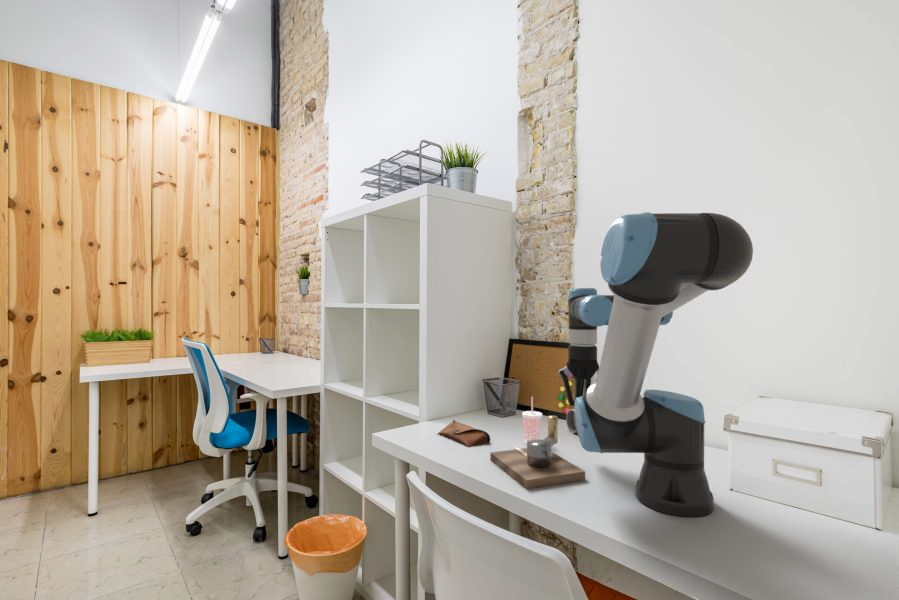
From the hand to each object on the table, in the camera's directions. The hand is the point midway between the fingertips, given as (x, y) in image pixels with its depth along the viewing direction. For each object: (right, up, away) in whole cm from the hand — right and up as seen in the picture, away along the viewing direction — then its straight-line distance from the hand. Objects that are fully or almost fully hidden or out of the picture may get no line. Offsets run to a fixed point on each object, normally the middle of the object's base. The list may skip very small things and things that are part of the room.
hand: (582, 431), depth 123 cm
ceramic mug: (+7, -8, +27) cm, 29 cm away
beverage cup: (-11, -8, +14) cm, 20 cm away
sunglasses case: (-32, -8, +19) cm, 39 cm away
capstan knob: (-11, -5, -5) cm, 13 cm away
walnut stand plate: (-14, -8, -7) cm, 18 cm away
